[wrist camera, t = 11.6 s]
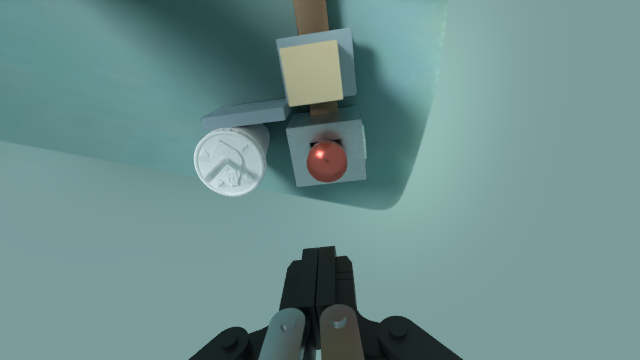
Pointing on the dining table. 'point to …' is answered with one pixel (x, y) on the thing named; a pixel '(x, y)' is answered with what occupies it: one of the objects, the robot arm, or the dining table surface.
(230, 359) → the robot arm
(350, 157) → the gauge cabinet
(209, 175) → the smoothie
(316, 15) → the rail
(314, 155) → the gauge button
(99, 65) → the dining table surface
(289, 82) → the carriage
